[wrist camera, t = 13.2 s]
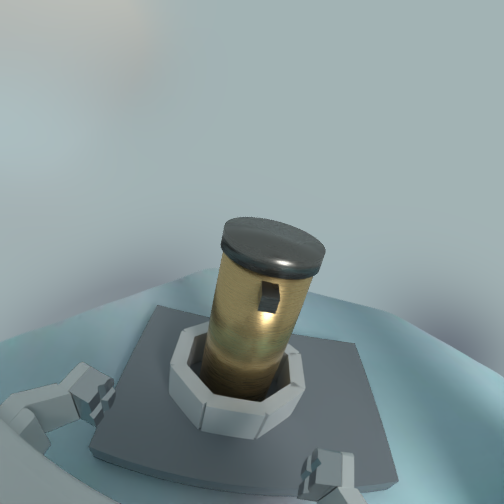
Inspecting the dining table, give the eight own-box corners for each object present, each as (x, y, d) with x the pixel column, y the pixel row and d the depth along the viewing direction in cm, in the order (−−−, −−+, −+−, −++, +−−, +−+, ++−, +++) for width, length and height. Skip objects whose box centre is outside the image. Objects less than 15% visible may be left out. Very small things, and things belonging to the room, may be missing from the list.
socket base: (349, 353, 29) (366, 320, 27) (387, 489, 14) (424, 460, 12) (156, 317, 28) (159, 278, 26) (93, 456, 13) (78, 422, 11)
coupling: (203, 347, 23) (231, 206, 19) (267, 359, 24) (313, 225, 19) (186, 420, 16) (213, 254, 12) (268, 434, 17) (341, 281, 12)
